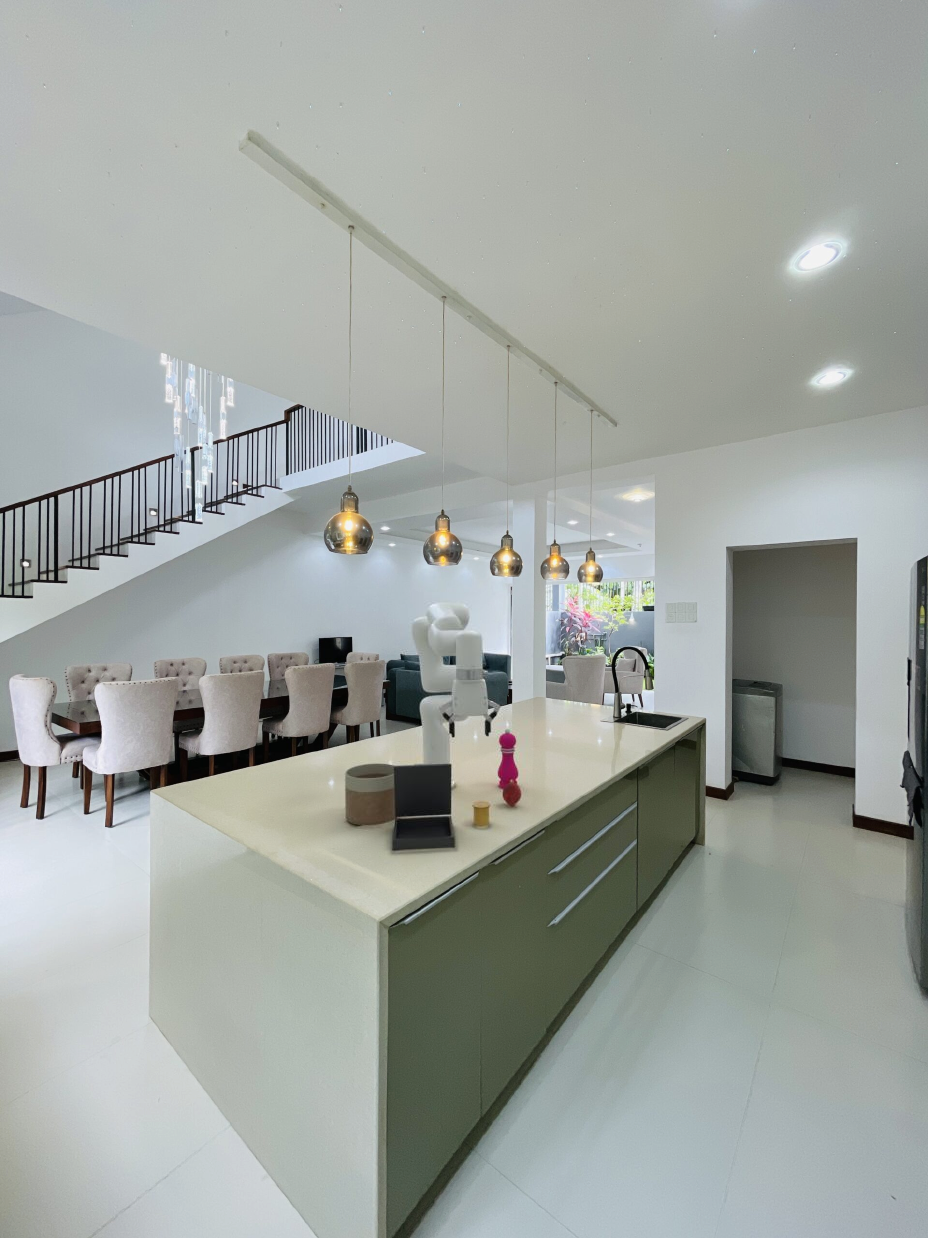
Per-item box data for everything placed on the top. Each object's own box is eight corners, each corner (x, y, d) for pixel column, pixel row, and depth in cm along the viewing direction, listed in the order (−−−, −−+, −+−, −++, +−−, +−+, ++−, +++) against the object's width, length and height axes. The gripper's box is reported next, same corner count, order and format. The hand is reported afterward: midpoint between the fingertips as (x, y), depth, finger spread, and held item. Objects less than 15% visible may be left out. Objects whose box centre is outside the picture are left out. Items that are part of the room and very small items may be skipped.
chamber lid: (451, 765, 140) (450, 756, 144) (393, 767, 138) (394, 758, 143) (451, 814, 144) (450, 804, 148) (395, 817, 142) (395, 807, 147)
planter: (353, 832, 142) (353, 781, 142) (339, 813, 156) (339, 767, 156) (407, 821, 149) (407, 773, 149) (389, 804, 163) (389, 760, 163)
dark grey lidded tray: (454, 850, 129) (454, 837, 129) (392, 853, 128) (392, 840, 128) (451, 827, 144) (451, 815, 144) (395, 830, 143) (395, 818, 143)
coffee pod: (469, 826, 145) (468, 805, 145) (480, 821, 148) (479, 800, 148) (482, 830, 141) (482, 809, 141) (493, 825, 145) (493, 804, 145)
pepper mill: (496, 783, 183) (495, 727, 183) (516, 782, 183) (515, 726, 183) (499, 790, 176) (498, 731, 176) (520, 789, 176) (519, 730, 176)
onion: (520, 809, 157) (519, 783, 157) (501, 808, 158) (501, 782, 158) (522, 803, 162) (521, 777, 163) (503, 802, 164) (503, 777, 164)
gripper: (497, 673, 150) (498, 732, 150) (438, 674, 148) (438, 734, 148) (501, 676, 142) (502, 738, 142) (439, 677, 141) (440, 740, 141)
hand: (470, 735), depth 145 cm, fingers open, 9 cm apart
